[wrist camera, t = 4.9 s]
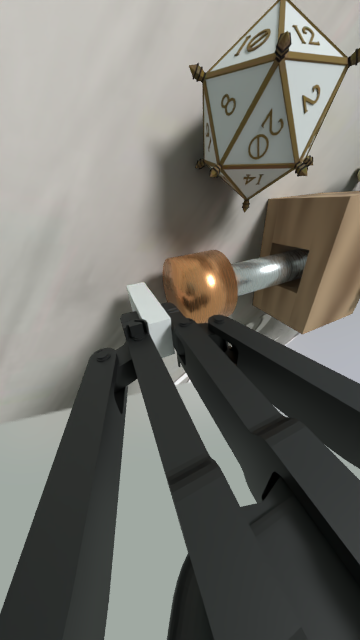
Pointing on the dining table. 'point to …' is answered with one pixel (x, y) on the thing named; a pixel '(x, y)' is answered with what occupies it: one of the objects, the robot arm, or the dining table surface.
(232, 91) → the game die
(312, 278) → the hitch block
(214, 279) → the pin
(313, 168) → the dining table surface
